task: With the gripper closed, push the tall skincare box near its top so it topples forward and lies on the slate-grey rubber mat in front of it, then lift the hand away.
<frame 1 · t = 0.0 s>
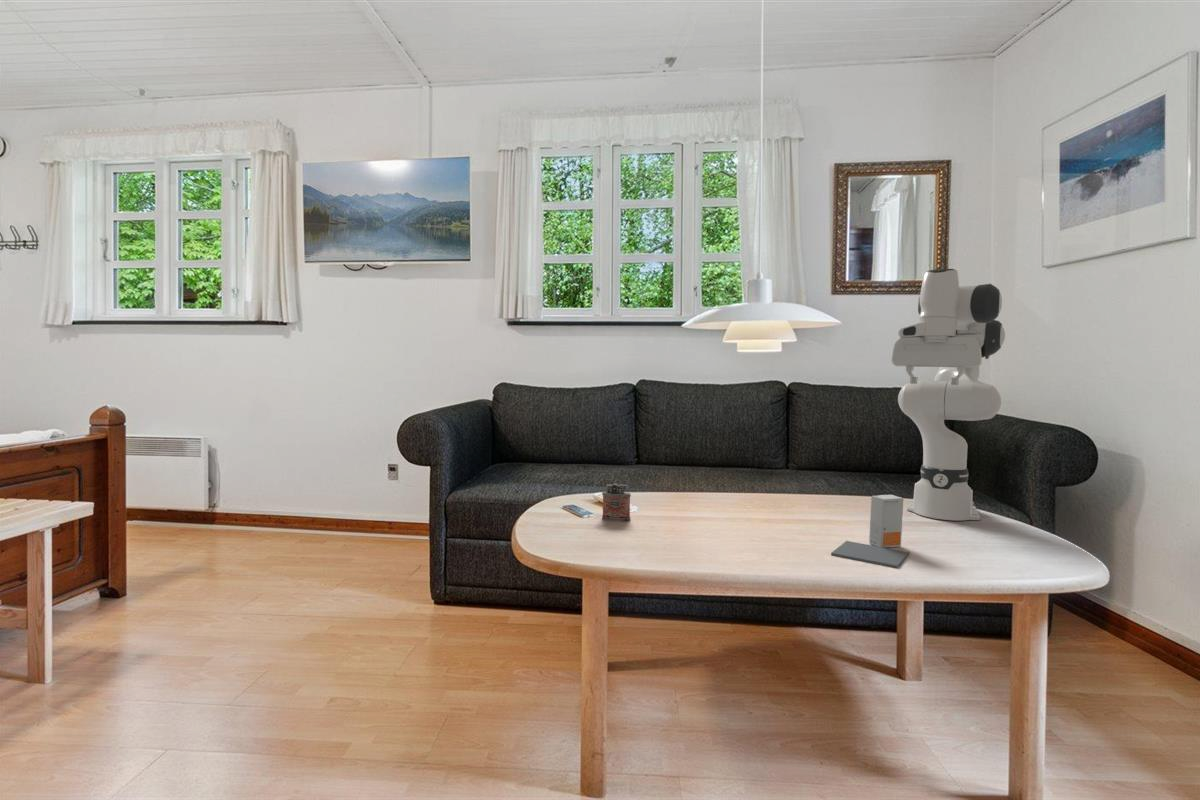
hand: (933, 384, 157), 39 cm above the table, tool pointing down, fingers open, 8 cm apart
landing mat: (870, 554, 141), on the table
skincare box: (885, 546, 148), on the table
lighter: (616, 520, 171), on the table
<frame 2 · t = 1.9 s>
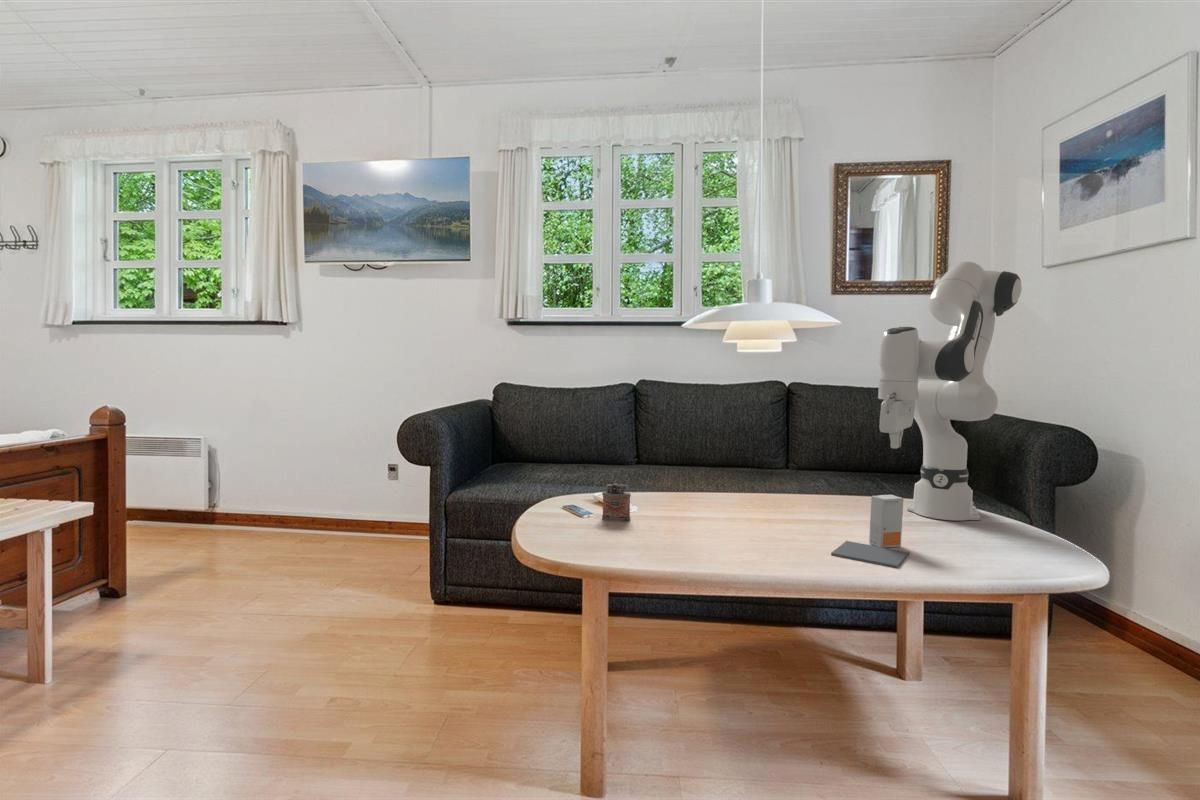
hand: (895, 447, 152), 23 cm above the table, tool pointing down, fingers closed
nothing on the table moved.
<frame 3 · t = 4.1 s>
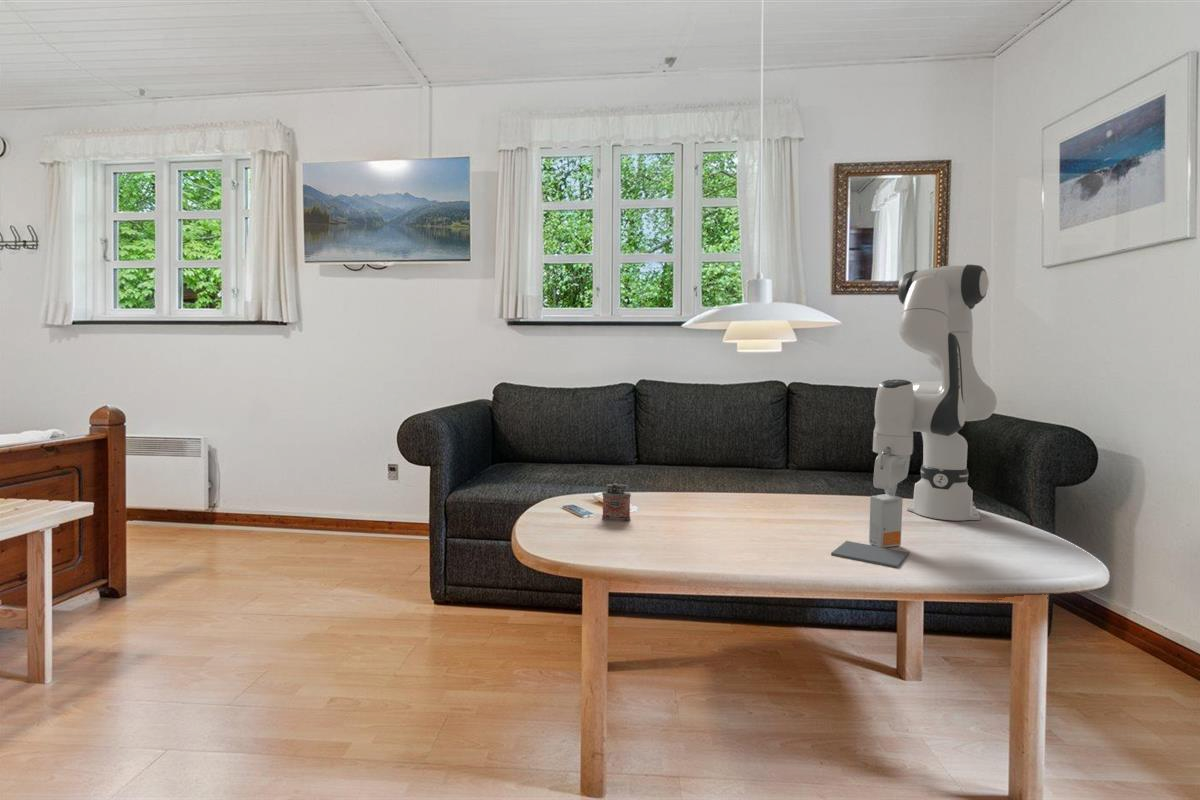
hand: (889, 501, 151), 10 cm above the table, tool pointing down, fingers closed, pressing on skincare box
skincare box: (885, 545, 148), on the table, touching gripper
everything else where it was.
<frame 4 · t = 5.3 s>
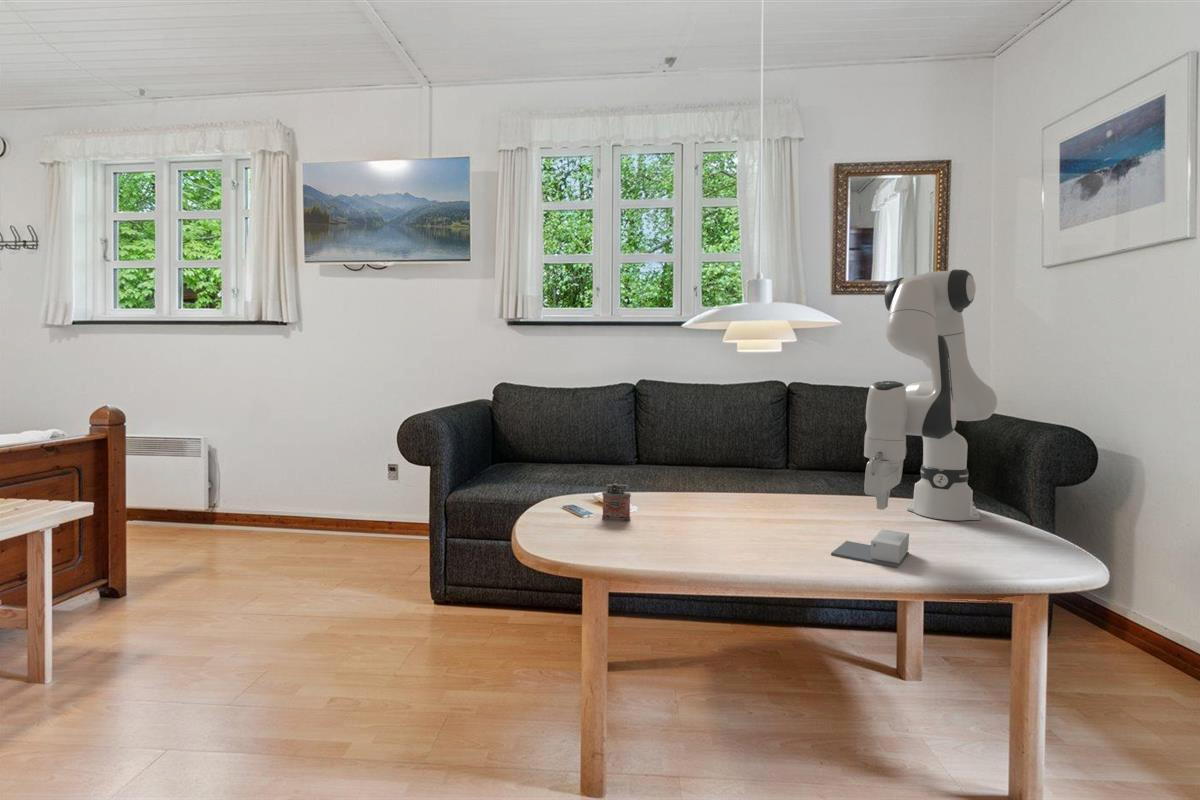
hand: (882, 508, 144), 10 cm above the table, tool pointing down, fingers closed
skincare box: (895, 539, 144), point 3 cm above the table, touching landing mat
everything else where it was.
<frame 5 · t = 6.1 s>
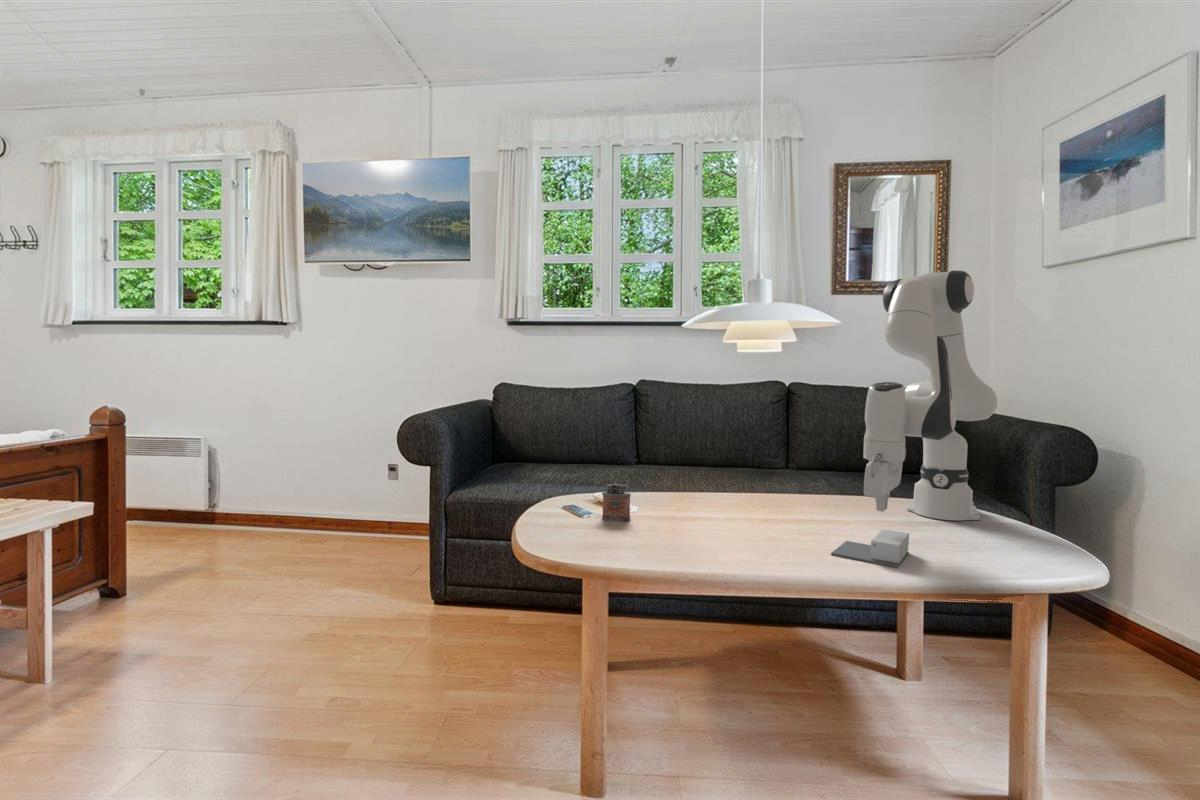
hand: (881, 510, 144), 10 cm above the table, tool pointing down, fingers closed
nothing on the table moved.
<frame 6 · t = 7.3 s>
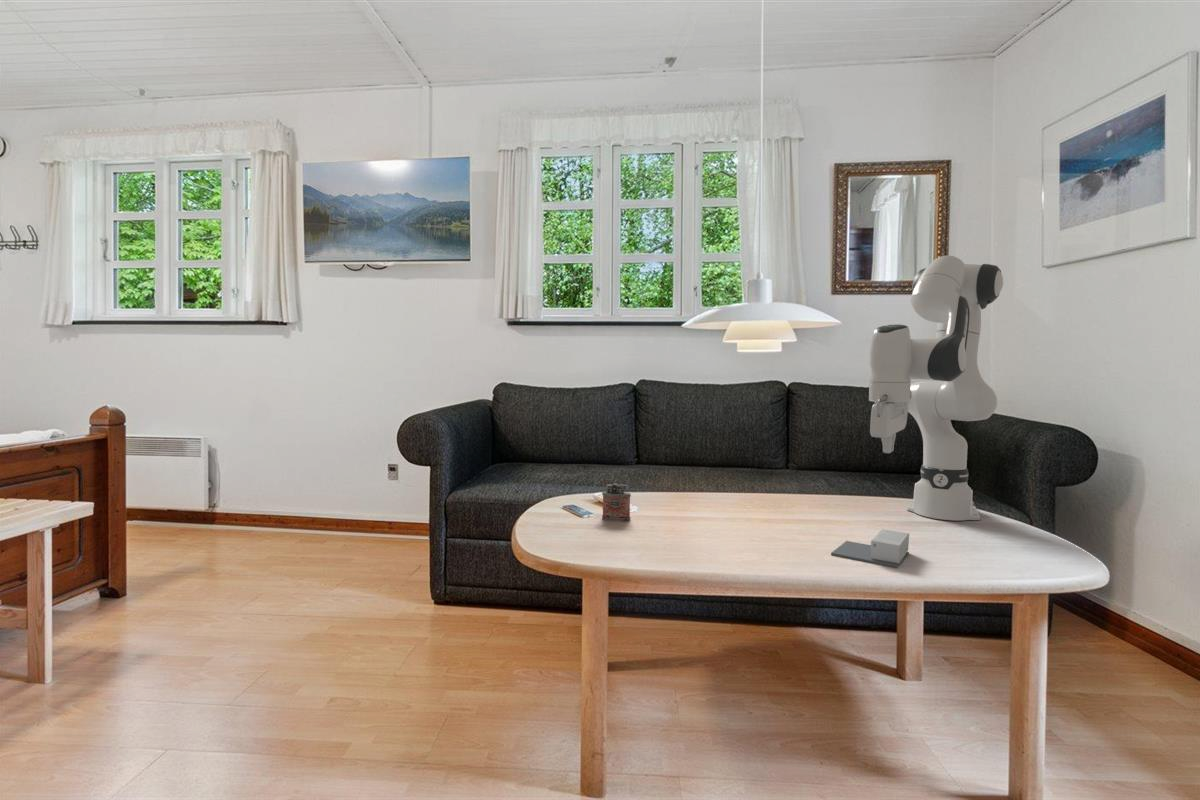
hand: (888, 452, 145), 23 cm above the table, tool pointing down, fingers closed
nothing on the table moved.
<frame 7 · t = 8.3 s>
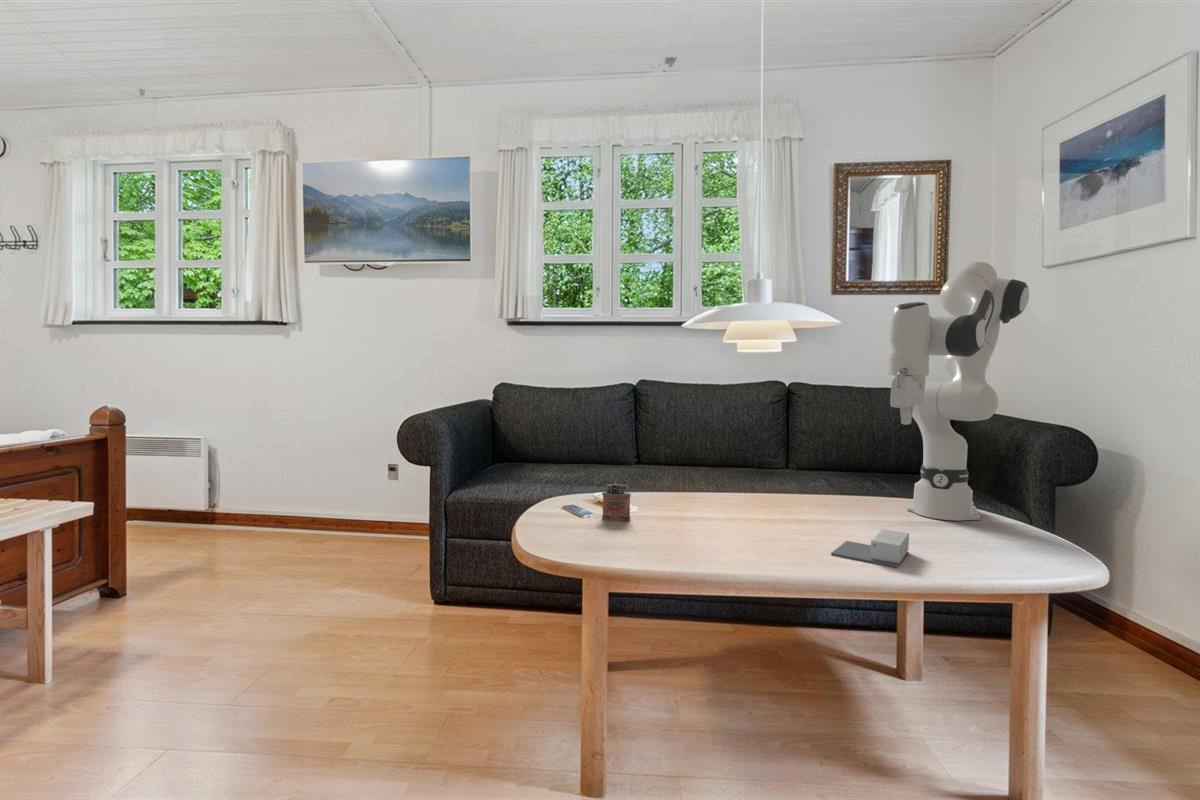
hand: (906, 424, 151), 29 cm above the table, tool pointing down, fingers closed
nothing on the table moved.
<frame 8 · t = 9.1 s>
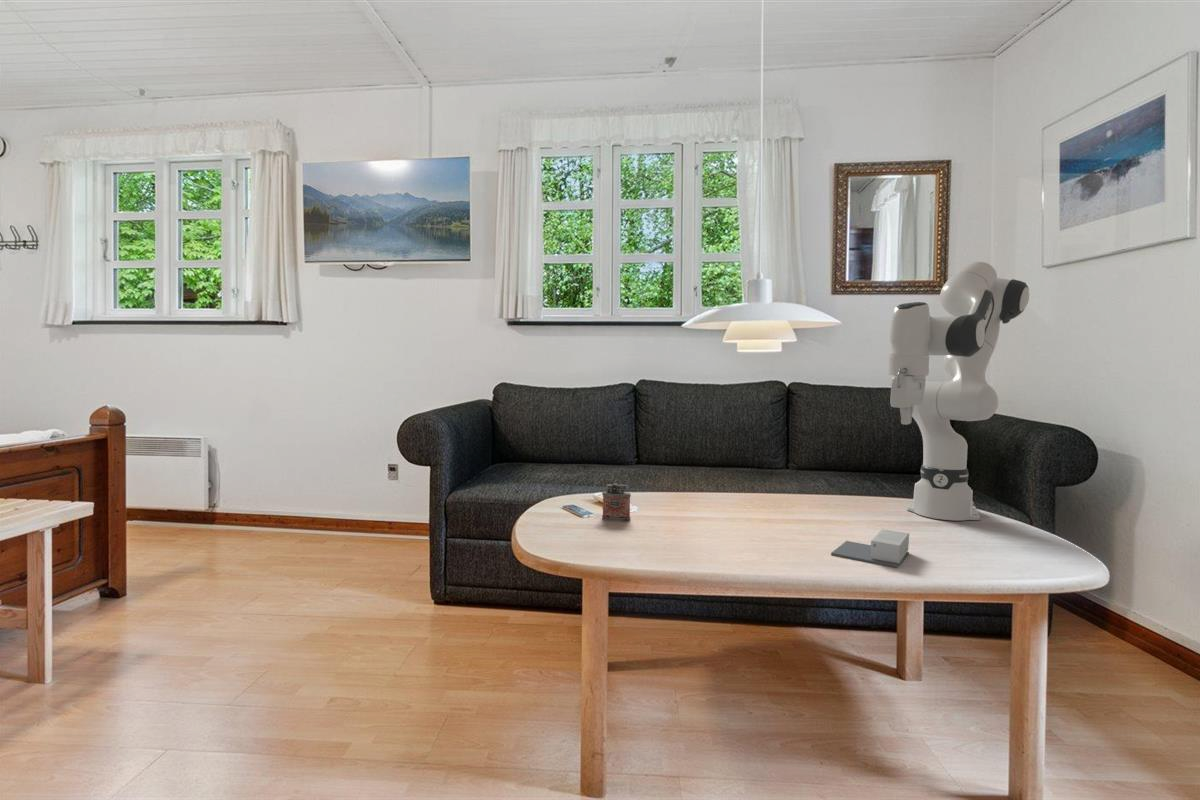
hand: (906, 424, 151), 29 cm above the table, tool pointing down, fingers closed
nothing on the table moved.
at the end: skincare box tilted 90°; skincare box touching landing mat; skincare box inside the target area (3.3 cm from its centre), point 2.6 cm above the table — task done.
